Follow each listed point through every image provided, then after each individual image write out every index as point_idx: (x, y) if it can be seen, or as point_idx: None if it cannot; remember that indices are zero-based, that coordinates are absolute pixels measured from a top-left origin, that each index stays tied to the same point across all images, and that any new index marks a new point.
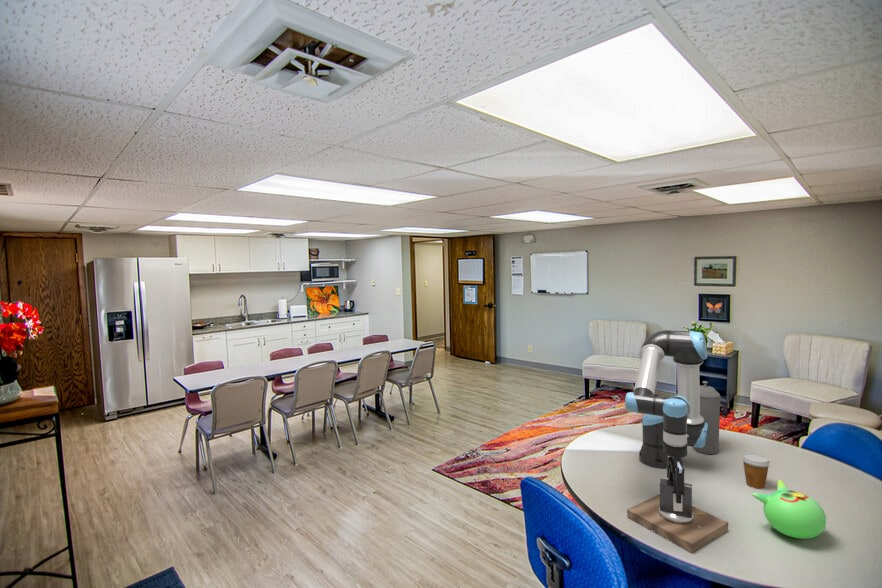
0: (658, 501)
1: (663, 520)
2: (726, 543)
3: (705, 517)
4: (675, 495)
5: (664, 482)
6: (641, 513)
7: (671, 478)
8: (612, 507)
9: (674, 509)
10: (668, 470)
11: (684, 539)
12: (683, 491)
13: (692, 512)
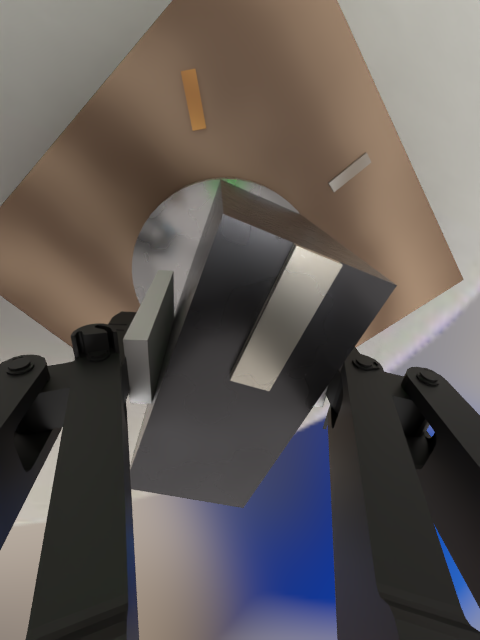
0: (90, 316)
1: None
2: (398, 37)
3: (224, 78)
4: None
5: (210, 477)
6: None
7: (127, 432)
8: None
9: None
10: (10, 514)
11: (425, 299)
12: (463, 409)
13: (231, 181)
